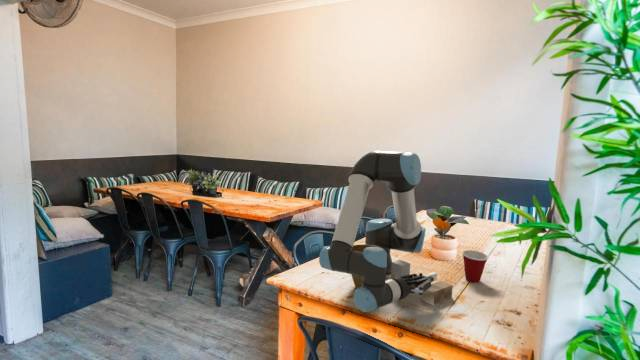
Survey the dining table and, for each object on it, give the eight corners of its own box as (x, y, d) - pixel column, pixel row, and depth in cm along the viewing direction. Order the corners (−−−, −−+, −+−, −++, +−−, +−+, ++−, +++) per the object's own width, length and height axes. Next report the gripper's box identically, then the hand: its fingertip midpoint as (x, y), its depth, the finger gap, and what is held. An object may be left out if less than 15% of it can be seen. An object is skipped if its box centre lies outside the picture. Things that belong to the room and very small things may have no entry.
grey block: (400, 295, 141) (402, 265, 140) (390, 291, 145) (392, 262, 144) (408, 292, 144) (410, 263, 143) (398, 288, 148) (400, 259, 147)
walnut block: (433, 292, 133) (452, 285, 141) (422, 287, 137) (441, 280, 145) (433, 305, 134) (451, 297, 141) (421, 300, 138) (440, 292, 145)
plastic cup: (470, 286, 153) (472, 258, 152) (454, 276, 163) (456, 250, 162) (492, 284, 156) (494, 257, 155) (475, 275, 166) (477, 249, 165)
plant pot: (358, 278, 157) (360, 242, 156) (389, 287, 148) (391, 249, 146) (338, 288, 146) (339, 249, 144) (370, 299, 137) (372, 258, 135)
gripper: (378, 293, 128) (420, 279, 143) (407, 308, 118) (449, 291, 132) (379, 273, 127) (421, 261, 142) (409, 285, 117) (451, 271, 132)
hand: (435, 276), depth 137 cm, fingers closed
